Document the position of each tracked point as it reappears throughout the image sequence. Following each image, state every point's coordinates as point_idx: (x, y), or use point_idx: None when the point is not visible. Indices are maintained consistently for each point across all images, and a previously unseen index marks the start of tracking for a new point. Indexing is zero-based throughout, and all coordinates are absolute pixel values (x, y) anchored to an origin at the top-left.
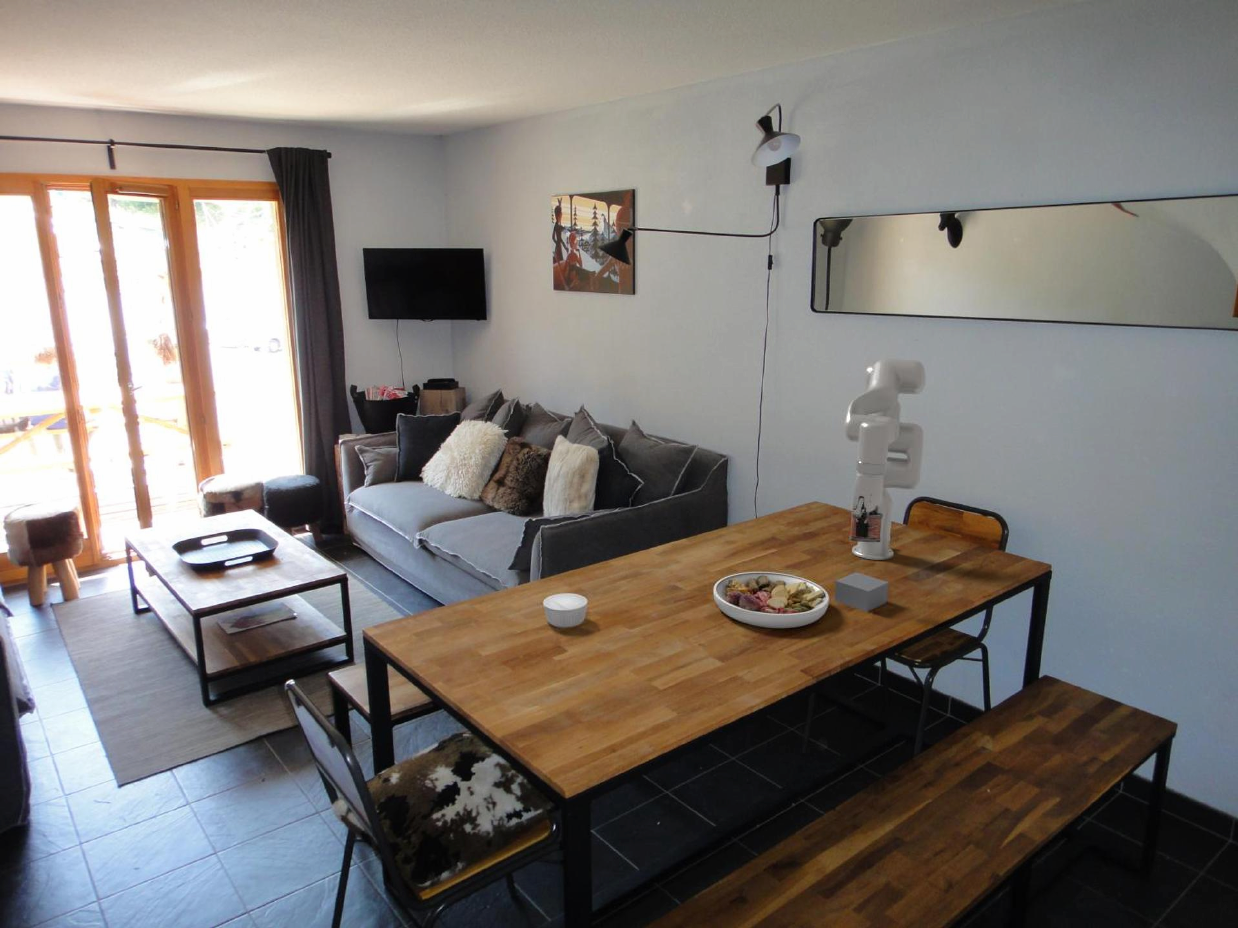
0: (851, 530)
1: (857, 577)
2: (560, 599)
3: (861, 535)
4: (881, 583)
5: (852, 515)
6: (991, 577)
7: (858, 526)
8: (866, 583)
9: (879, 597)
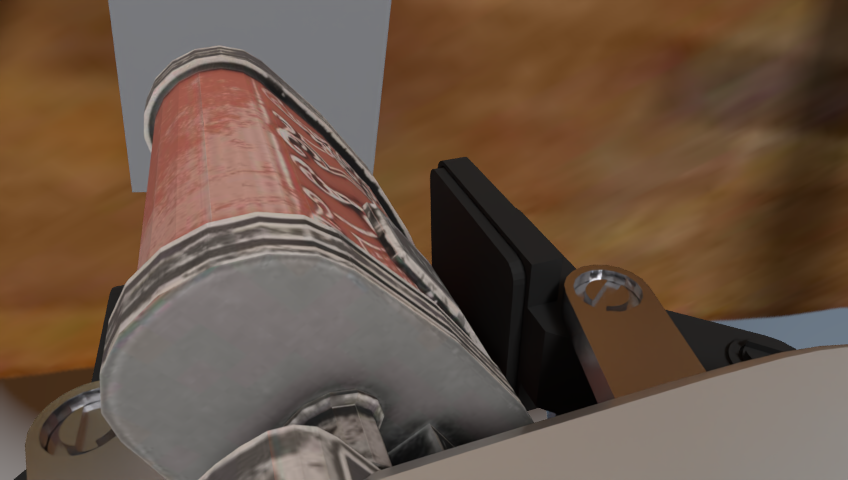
0: (154, 145)
1: (305, 12)
2: None
3: None
4: None
5: (109, 328)
6: (788, 256)
7: (95, 366)
8: None
9: None
